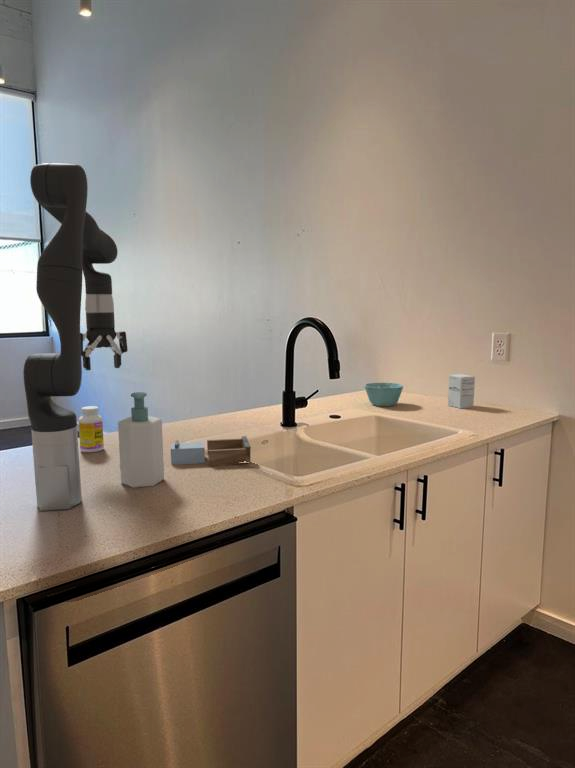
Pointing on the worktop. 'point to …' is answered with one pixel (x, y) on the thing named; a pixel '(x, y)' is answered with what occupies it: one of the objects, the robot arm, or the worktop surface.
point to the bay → (228, 451)
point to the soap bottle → (141, 446)
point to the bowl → (383, 393)
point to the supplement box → (461, 391)
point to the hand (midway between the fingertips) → (102, 369)
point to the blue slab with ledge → (187, 453)
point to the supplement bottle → (91, 430)
